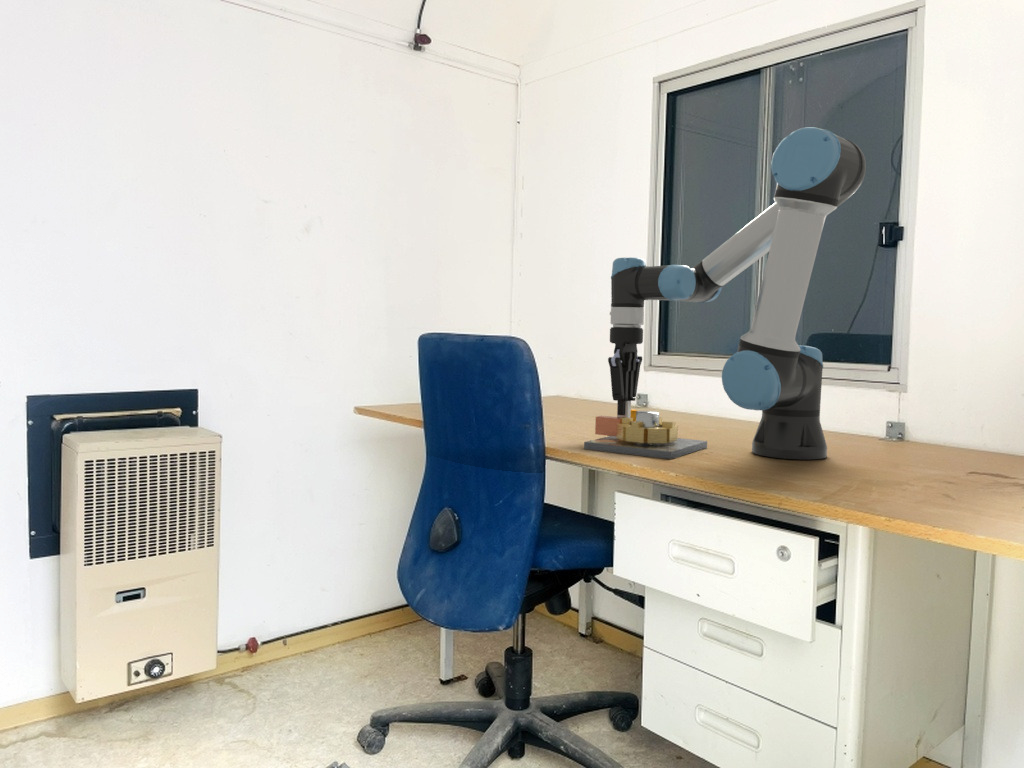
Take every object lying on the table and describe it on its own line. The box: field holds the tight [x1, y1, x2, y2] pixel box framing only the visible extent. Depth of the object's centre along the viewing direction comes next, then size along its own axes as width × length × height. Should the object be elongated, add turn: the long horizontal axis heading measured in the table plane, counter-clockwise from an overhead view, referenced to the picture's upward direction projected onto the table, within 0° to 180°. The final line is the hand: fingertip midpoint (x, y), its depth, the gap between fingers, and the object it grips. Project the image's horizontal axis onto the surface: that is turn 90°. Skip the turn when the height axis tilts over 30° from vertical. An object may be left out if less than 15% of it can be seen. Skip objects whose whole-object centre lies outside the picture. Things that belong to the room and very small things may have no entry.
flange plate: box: [583, 410, 708, 460], centre depth 176 cm, size 20×20×8 cm
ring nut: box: [594, 415, 679, 443], centre depth 177 cm, size 18×12×4 cm
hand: (623, 428), depth 185 cm, fingers closed
